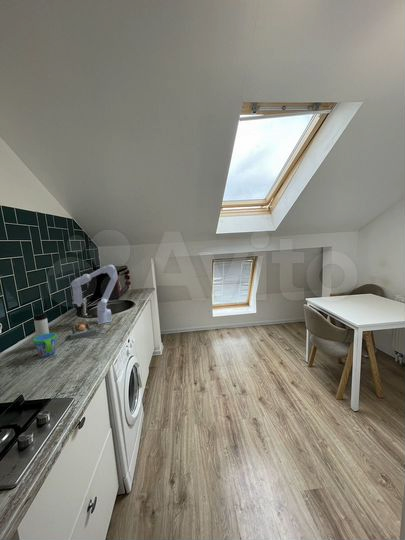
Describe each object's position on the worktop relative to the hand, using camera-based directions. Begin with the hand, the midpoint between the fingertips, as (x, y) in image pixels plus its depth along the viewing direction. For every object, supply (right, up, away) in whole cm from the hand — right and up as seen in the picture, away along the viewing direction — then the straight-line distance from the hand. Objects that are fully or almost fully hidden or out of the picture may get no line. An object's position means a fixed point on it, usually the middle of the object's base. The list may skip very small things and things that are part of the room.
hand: (79, 313), depth 167 cm
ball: (+7, -8, -10) cm, 14 cm away
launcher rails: (+5, -9, -6) cm, 12 cm away
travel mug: (-4, -13, -31) cm, 34 cm away
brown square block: (+4, -9, -4) cm, 11 cm away
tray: (+12, -11, -17) cm, 24 cm away
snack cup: (+5, -14, -42) cm, 45 cm away
